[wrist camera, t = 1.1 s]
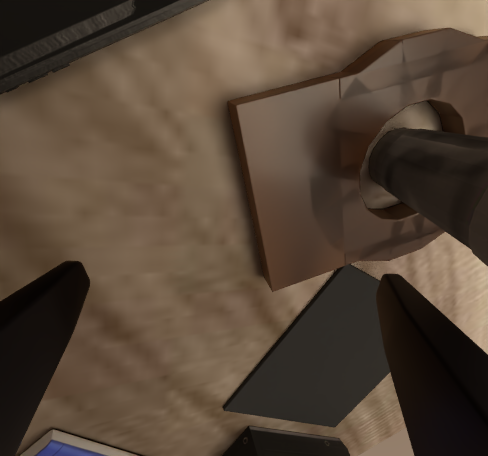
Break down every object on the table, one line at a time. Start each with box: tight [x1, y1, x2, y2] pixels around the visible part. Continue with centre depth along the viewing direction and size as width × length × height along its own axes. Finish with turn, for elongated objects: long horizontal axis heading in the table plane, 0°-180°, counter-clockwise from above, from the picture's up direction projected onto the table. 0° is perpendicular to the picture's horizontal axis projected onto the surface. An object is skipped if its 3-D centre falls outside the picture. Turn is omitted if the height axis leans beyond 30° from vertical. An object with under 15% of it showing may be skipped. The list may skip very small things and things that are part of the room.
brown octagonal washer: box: [228, 28, 488, 292], centre depth 23 cm, size 20×16×2 cm
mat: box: [223, 264, 390, 427], centre depth 34 cm, size 20×18×1 cm
